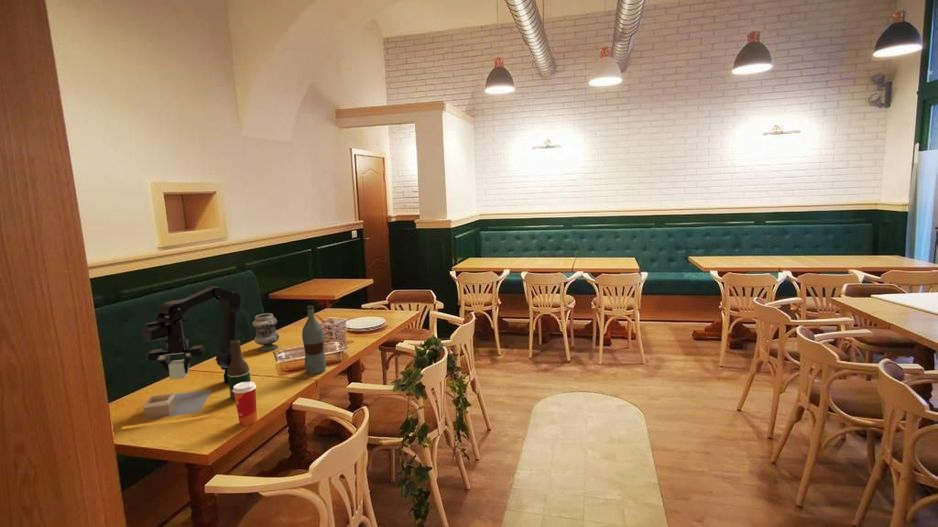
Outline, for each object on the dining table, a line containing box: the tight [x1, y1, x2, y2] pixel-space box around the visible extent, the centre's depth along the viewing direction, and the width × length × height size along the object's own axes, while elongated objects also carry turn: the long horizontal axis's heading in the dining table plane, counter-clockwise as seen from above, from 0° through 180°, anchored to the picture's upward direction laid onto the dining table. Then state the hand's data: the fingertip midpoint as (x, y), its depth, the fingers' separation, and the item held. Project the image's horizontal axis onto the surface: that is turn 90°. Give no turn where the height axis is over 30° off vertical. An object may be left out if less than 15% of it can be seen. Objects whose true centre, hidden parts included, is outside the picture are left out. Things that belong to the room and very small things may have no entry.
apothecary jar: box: [252, 312, 280, 353], centre depth 259 cm, size 12×12×18 cm
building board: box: [143, 389, 214, 421], centre depth 194 cm, size 18×22×6 cm
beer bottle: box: [228, 339, 252, 401], centre depth 197 cm, size 8×8×24 cm
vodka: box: [301, 305, 327, 375], centre depth 223 cm, size 9×9×30 cm
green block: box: [168, 358, 189, 380], centre depth 193 cm, size 5×5×6 cm
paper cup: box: [233, 381, 258, 427], centre depth 177 cm, size 8×8×14 cm
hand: (179, 374), depth 193 cm, fingers closed on green block, 5 cm apart
